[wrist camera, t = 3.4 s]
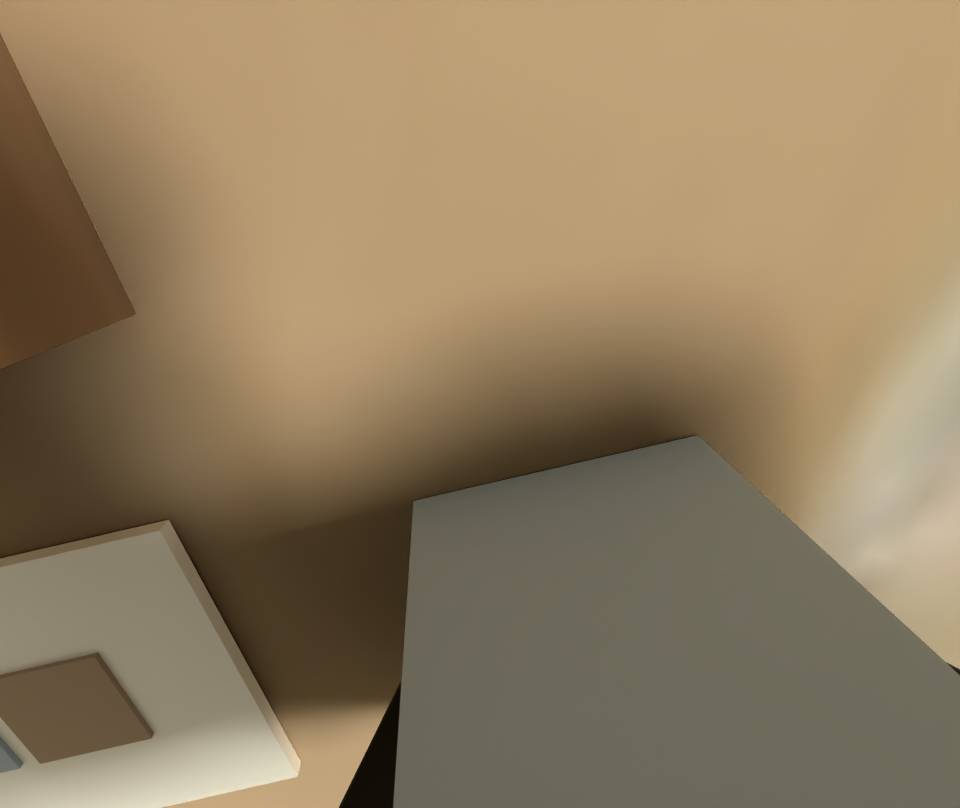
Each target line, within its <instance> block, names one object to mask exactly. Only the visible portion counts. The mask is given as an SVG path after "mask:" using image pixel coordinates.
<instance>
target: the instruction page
mask: <svg viewBox="0 0 960 808" xmlns="http://www.w3.org/2000/svg"><path fill="white" fill-rule="evenodd" d="M300 764H301V761H300V760H299V758H298V756H297V754H296V752H295V750H294V749H293V747H292V745H291V743H290V741H289V739H288V738H287V736H286V734H285V732H284V730H283V728H282V727H281V725H280V723H279V721H278V719H277V717H276V716H275V714H274V712H273V710H272V708H271V706H270V705H269V703H268V701H267V699H266V697H265V695H264V694H263V692H262V690H261V688H260V686H259V684H258V683H257V681H256V679H255V677H254V675H253V673H252V672H251V670H250V668H249V666H248V664H247V662H246V661H245V659H244V657H243V655H242V653H241V651H240V650H239V648H238V646H237V644H236V642H235V640H234V639H233V637H232V635H231V633H230V631H229V629H228V628H227V626H226V624H225V622H224V620H223V618H222V617H221V615H220V613H219V611H218V609H217V607H216V606H215V604H214V602H213V600H212V598H211V596H210V595H209V593H208V591H207V589H206V587H205V585H204V584H203V582H202V580H201V578H200V576H199V574H198V573H197V571H196V569H195V567H194V565H193V563H192V562H191V560H190V558H189V556H188V554H187V552H186V551H185V549H184V547H183V545H182V543H181V541H180V540H179V538H178V536H177V534H176V532H175V530H174V529H173V527H172V525H171V523H170V521H169V520H165V521H161V522H157V523H152V524H148V525H144V526H139V527H135V528H131V529H126V530H122V531H118V532H113V533H109V534H105V535H100V536H96V537H92V538H87V539H83V540H79V541H74V542H70V543H65V544H61V545H57V546H52V547H48V548H44V549H39V550H35V551H31V552H26V553H22V554H18V555H13V556H9V557H5V558H0V808H162V807H166V806H171V805H175V804H180V803H184V802H188V801H193V800H197V799H202V798H206V797H210V796H215V795H219V794H224V793H228V792H232V791H237V790H241V789H246V788H250V787H254V786H259V785H263V784H268V783H272V782H276V781H281V780H285V779H290V778H294V777H297V776H298V772H299V768H300Z"/></svg>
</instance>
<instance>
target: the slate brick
mask: <svg viewBox="0 0 960 808" xmlns="http://www.w3.org/2000/svg"><path fill="white" fill-rule="evenodd" d="M393 808H960V675H959V674H958V673H957V672H956V671H955V670H953V669H952V668H951V667H950V666H949V665H948V664H947V663H946V662H945V661H944V660H943V659H942V658H940V657H939V656H938V655H937V654H936V653H935V652H934V651H933V650H932V649H931V648H930V647H928V646H927V645H926V644H925V643H924V642H923V641H922V640H921V639H920V638H919V637H918V636H916V635H915V634H914V633H913V632H912V631H911V630H910V629H909V628H908V627H907V626H906V625H904V624H903V623H902V622H901V621H900V620H899V619H898V618H897V617H896V616H895V615H894V614H892V613H891V612H890V611H889V610H888V609H887V608H886V607H885V606H884V605H883V604H882V603H880V602H879V601H878V600H877V599H876V598H875V597H874V596H873V595H872V594H871V593H870V592H868V591H867V590H866V589H865V588H864V587H863V586H862V585H861V584H860V583H859V582H858V581H856V580H855V579H854V578H853V577H852V576H851V575H850V574H849V573H848V572H847V571H846V570H844V569H843V568H842V567H841V566H840V565H839V564H838V563H837V562H836V561H835V560H834V559H832V558H831V557H830V556H829V555H828V554H827V553H826V552H825V551H824V550H823V549H822V548H821V547H819V546H818V545H817V544H816V543H815V542H814V541H813V540H812V539H811V538H810V537H809V536H807V535H806V534H805V533H804V532H803V531H802V530H801V529H800V528H799V527H798V526H797V525H795V524H794V523H793V522H792V521H791V520H790V519H789V518H788V517H787V516H786V515H785V514H783V513H782V512H781V511H780V510H779V509H778V508H777V507H776V506H775V505H774V504H773V503H771V502H770V501H769V500H768V499H767V498H766V497H765V496H764V495H763V494H762V493H761V492H759V491H758V490H757V489H756V488H755V487H754V486H753V485H752V484H751V483H750V482H749V481H747V480H746V479H745V478H744V477H743V476H742V475H741V474H740V473H739V472H738V471H737V470H735V469H734V468H733V467H732V466H731V465H730V464H729V463H728V462H727V461H726V460H725V459H723V458H722V457H721V456H720V455H719V454H718V453H717V452H716V451H715V450H714V449H713V448H711V447H710V446H709V445H708V444H707V443H706V442H705V441H704V440H703V439H702V438H701V437H700V436H698V435H697V436H692V437H688V438H684V439H679V440H675V441H671V442H666V443H662V444H658V445H653V446H649V447H645V448H640V449H636V450H632V451H627V452H623V453H619V454H614V455H610V456H606V457H601V458H597V459H593V460H588V461H584V462H580V463H575V464H571V465H567V466H562V467H558V468H554V469H549V470H545V471H541V472H536V473H532V474H528V475H523V476H519V477H515V478H510V479H506V480H502V481H497V482H493V483H489V484H484V485H480V486H476V487H471V488H467V489H463V490H458V491H454V492H450V493H445V494H441V495H437V496H432V497H428V498H424V499H419V500H415V501H413V516H412V532H411V547H410V562H409V577H408V592H407V607H406V622H405V637H404V652H403V667H402V682H401V697H400V712H399V728H398V743H397V758H396V773H395V788H394V803H393Z"/></svg>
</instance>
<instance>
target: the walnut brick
mask: <svg viewBox="0 0 960 808" xmlns="http://www.w3.org/2000/svg"><path fill="white" fill-rule="evenodd" d="M134 314H136V313H135V311H134V309H133V307H132V305H131V302H130V300H129V298H128V296H127V294H126V292H125V290H124V288H123V286H122V284H121V282H120V280H119V278H118V276H117V274H116V271H115V269H114V267H113V265H112V263H111V261H110V259H109V257H108V255H107V253H106V251H105V249H104V247H103V245H102V243H101V241H100V238H99V236H98V234H97V232H96V230H95V228H94V226H93V224H92V222H91V220H90V218H89V216H88V214H87V212H86V210H85V208H84V205H83V203H82V201H81V199H80V197H79V195H78V193H77V191H76V189H75V187H74V185H73V183H72V181H71V179H70V177H69V174H68V172H67V170H66V168H65V166H64V164H63V162H62V160H61V158H60V156H59V154H58V152H57V150H56V148H55V146H54V144H53V141H52V139H51V137H50V135H49V133H48V131H47V129H46V127H45V125H44V123H43V121H42V119H41V117H40V115H39V113H38V110H37V108H36V106H35V104H34V102H33V100H32V98H31V96H30V94H29V92H28V90H27V88H26V86H25V84H24V82H23V80H22V77H21V75H20V73H19V71H18V69H17V67H16V65H15V63H14V61H13V59H12V57H11V55H10V53H9V51H8V49H7V46H6V44H5V42H4V40H3V38H2V36H1V34H0V369H2V368H4V367H7V366H9V365H12V364H14V363H17V362H19V361H22V360H24V359H26V358H29V357H31V356H34V355H36V354H39V353H41V352H44V351H46V350H48V349H51V348H53V347H56V346H58V345H61V344H63V343H66V342H68V341H71V340H73V339H75V338H78V337H80V336H83V335H85V334H88V333H90V332H93V331H95V330H97V329H100V328H102V327H105V326H107V325H110V324H112V323H115V322H117V321H120V320H122V319H124V318H127V317H129V316H132V315H134Z"/></svg>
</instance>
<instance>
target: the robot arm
mask: <svg viewBox="0 0 960 808" xmlns="http://www.w3.org/2000/svg"><path fill="white" fill-rule="evenodd" d="M946 663H947V662H946ZM947 664H948V665H949V666H950V667H951V668H952V669H953V670H955V671H956V672H957V673H958V674H959V675H960V669H958V668H956V667H954V666H952V665H951V664H949V663H947ZM401 682H402V680H401ZM401 682H400V684H399V686H398V688H397V690H396V692H395V694H394V696H393V698H392V700H391V702H390V704H389V706H388V708H387V710H386V712H385V714H384V716H383V718H382V721H381V723H380V725H379V727H378V729H377V731H376V733H375V735H374V737H373V739H372V741H371V743H370V745H369V747H368V749H367V751H366V753H365V755H364V757H363V759H362V761H361V763H360V765H359V767H358V769H357V772H356V774H355V776H354V778H353V780H352V782H351V784H350V786H349V788H348V790H347V792H346V794H345V796H344V798H343V800H342V802H341V804H340V806H339V808H393V803H394V788H395V773H396V758H397V743H398V728H399V712H400V697H401Z"/></svg>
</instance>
